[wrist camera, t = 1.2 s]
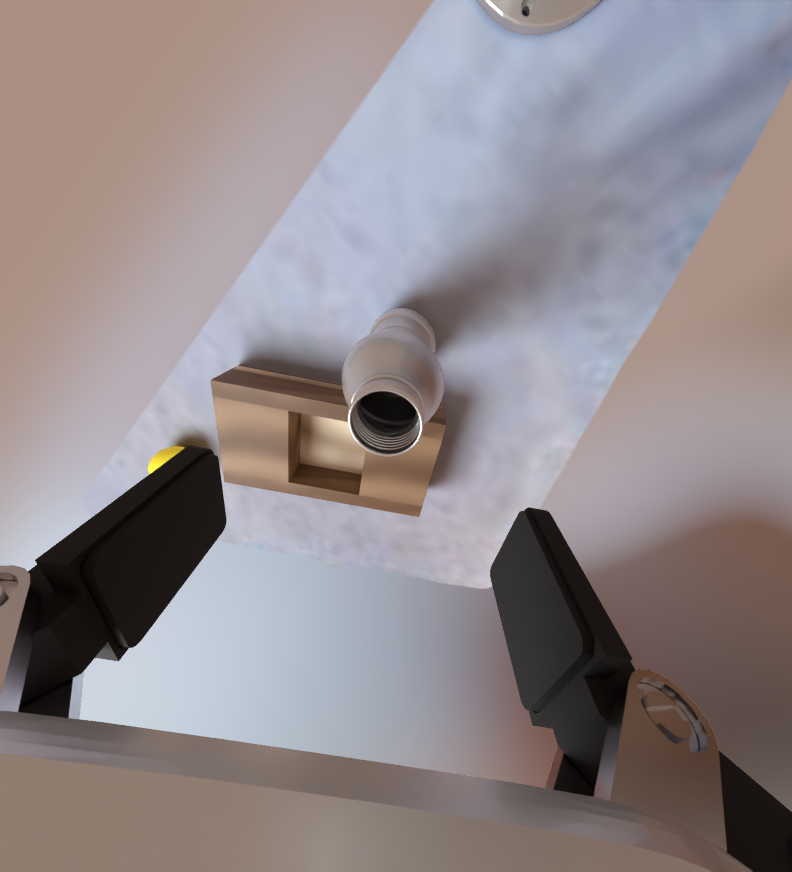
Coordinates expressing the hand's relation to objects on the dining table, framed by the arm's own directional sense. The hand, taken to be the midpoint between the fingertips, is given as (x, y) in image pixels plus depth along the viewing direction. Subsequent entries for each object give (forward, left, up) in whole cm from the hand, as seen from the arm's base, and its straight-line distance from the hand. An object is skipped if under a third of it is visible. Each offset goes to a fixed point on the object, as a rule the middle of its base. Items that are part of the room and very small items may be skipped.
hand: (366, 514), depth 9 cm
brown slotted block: (+13, -6, -26) cm, 29 cm away
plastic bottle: (0, 0, -26) cm, 26 cm away
